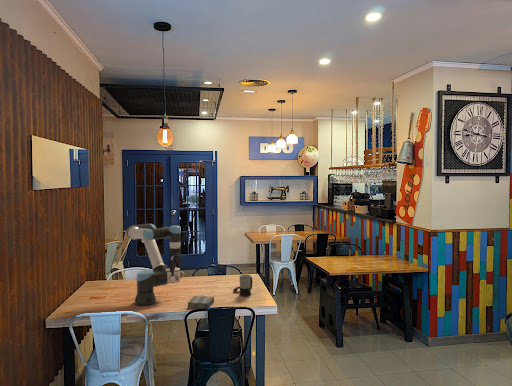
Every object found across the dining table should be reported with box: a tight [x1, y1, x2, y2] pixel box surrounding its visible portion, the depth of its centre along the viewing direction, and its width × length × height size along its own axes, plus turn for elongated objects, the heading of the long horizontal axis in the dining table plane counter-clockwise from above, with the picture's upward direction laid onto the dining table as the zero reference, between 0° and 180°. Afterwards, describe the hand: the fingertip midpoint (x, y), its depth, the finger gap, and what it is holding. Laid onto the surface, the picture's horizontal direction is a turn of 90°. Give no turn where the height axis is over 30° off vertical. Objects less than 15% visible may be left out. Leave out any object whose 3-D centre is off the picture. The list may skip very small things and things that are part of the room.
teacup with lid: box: [167, 266, 185, 284], centre depth 266 cm, size 12×9×12 cm
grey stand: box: [187, 295, 215, 310], centre depth 268 cm, size 15×15×4 cm
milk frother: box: [232, 274, 253, 297], centre depth 294 cm, size 14×16×15 cm
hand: (175, 278), depth 266 cm, fingers closed on teacup with lid, 9 cm apart
